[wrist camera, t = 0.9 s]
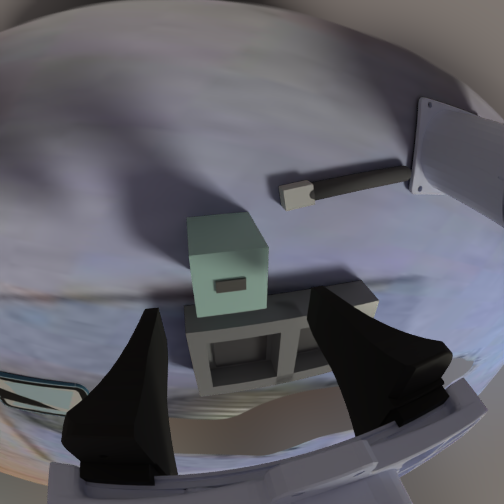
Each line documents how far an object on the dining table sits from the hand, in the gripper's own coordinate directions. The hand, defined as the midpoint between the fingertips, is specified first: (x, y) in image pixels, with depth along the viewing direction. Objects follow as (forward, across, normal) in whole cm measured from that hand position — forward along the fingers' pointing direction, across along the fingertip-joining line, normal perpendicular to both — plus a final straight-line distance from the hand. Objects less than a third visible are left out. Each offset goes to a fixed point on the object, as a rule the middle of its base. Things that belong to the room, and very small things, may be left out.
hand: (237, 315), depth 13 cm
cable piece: (+7, -10, -4) cm, 13 cm away
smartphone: (+8, +23, +17) cm, 30 cm away
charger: (+7, 0, 0) cm, 7 cm away
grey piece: (+7, -5, +9) cm, 12 cm away
